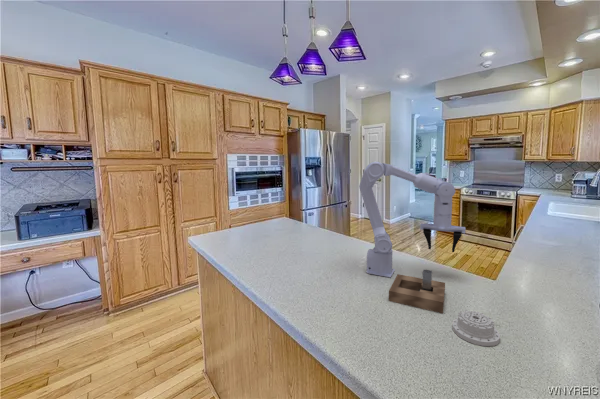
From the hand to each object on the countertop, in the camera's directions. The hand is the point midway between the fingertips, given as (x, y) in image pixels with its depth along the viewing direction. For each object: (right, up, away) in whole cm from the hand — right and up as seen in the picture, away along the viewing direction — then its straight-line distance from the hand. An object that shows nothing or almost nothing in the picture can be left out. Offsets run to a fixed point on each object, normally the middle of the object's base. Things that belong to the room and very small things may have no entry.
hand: (441, 249), depth 96 cm
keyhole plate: (-15, -13, -13) cm, 23 cm away
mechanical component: (-9, -15, -31) cm, 36 cm away
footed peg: (-12, -13, -14) cm, 23 cm away
